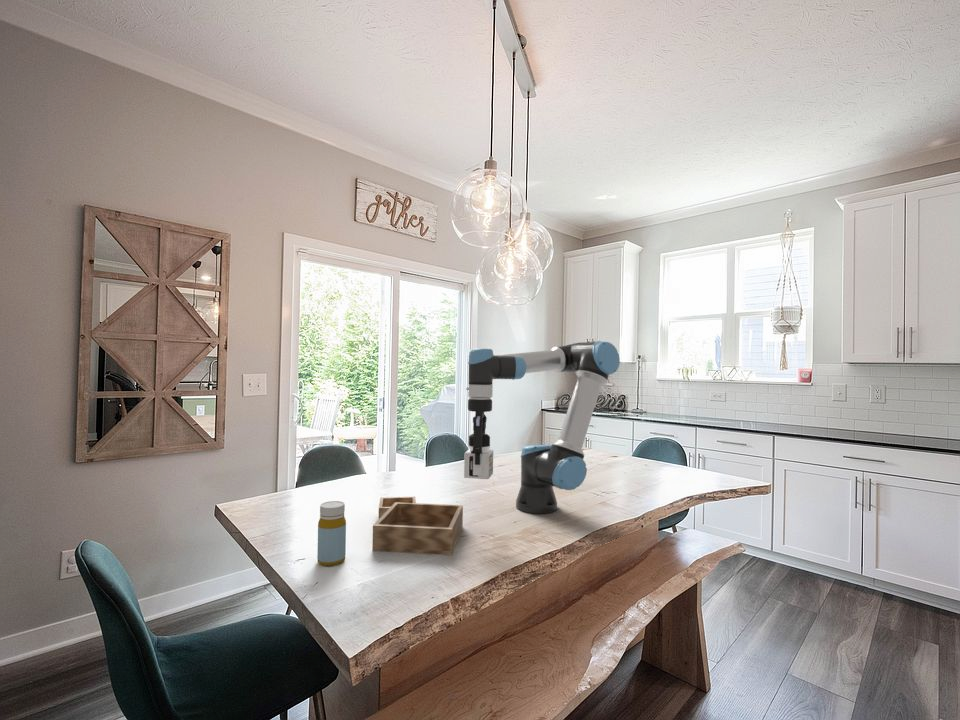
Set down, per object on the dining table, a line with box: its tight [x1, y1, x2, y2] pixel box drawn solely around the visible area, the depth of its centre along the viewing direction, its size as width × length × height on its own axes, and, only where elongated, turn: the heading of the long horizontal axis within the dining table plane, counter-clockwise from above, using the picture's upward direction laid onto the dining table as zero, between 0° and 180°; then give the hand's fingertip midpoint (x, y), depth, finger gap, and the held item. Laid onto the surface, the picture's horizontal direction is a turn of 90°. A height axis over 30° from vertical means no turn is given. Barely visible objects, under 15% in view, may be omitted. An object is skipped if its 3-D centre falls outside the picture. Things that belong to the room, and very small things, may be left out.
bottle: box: [316, 500, 347, 567], centre depth 122 cm, size 7×7×15 cm
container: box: [463, 433, 494, 480], centre depth 144 cm, size 8×8×13 cm
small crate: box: [377, 496, 417, 522], centre depth 156 cm, size 12×12×6 cm
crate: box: [371, 502, 464, 556], centre depth 140 cm, size 22×22×7 cm
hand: (478, 471), depth 144 cm, fingers closed on container, 8 cm apart
